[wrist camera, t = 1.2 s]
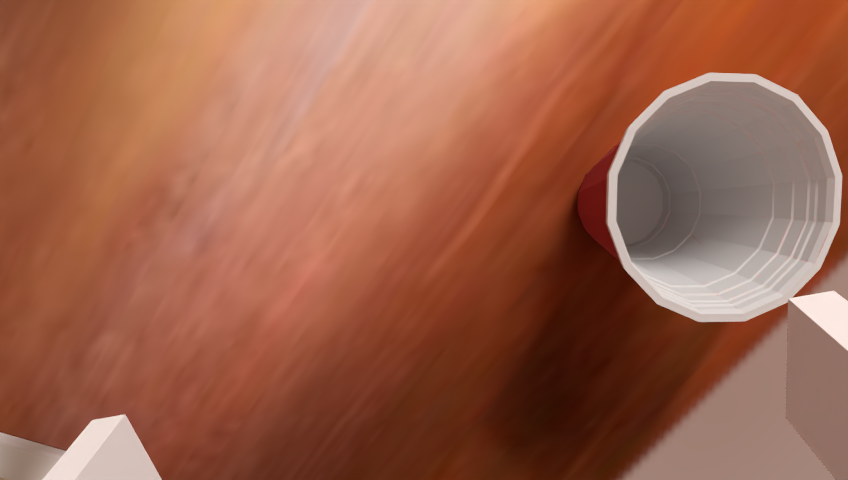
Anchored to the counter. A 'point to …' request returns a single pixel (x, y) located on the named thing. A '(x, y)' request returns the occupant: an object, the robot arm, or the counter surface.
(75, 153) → the counter surface
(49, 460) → the pipe stand
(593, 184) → the plastic cup
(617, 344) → the counter surface
